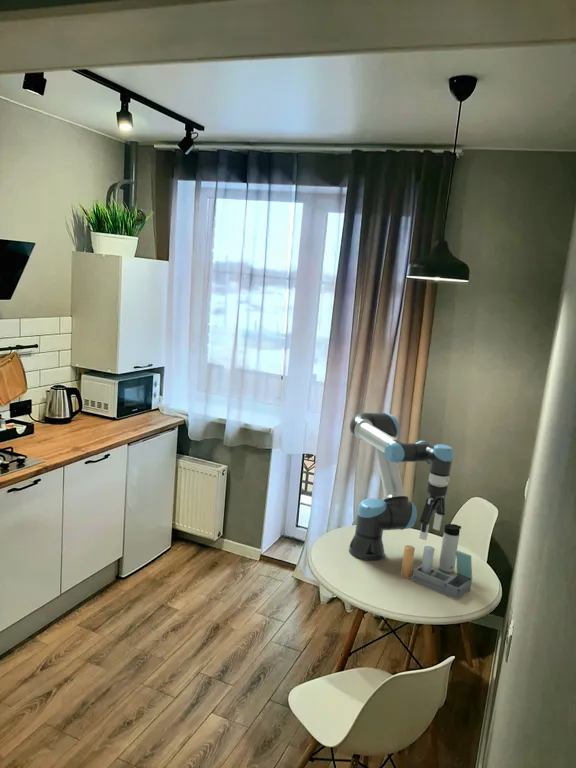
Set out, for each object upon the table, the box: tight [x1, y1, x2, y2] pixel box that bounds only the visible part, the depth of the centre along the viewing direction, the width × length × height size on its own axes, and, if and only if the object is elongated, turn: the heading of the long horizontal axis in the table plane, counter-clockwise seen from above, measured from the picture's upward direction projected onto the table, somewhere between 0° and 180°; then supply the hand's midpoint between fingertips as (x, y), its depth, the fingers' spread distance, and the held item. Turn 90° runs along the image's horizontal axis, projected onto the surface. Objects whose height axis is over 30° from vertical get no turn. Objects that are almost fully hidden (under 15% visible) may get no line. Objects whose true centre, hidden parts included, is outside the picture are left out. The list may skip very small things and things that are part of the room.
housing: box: [409, 564, 473, 601], centre depth 226 cm, size 20×12×4 cm, turn 50°
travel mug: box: [438, 523, 462, 575], centre depth 238 cm, size 6×7×20 cm
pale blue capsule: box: [421, 545, 435, 575], centre depth 230 cm, size 4×4×12 cm
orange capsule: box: [400, 545, 416, 579], centre depth 231 cm, size 4×4×12 cm
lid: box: [456, 550, 473, 580], centre depth 224 cm, size 6×12×1 cm
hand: (429, 534), depth 229 cm, fingers open, 13 cm apart
